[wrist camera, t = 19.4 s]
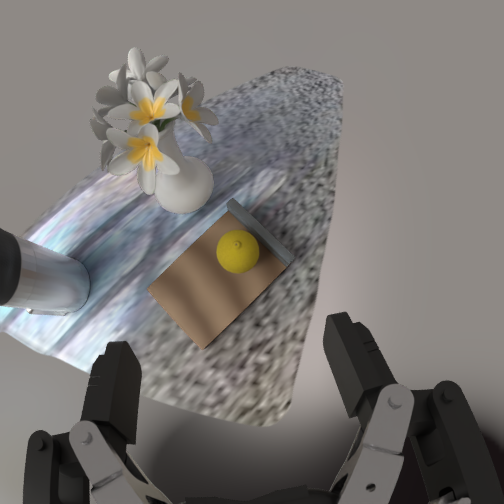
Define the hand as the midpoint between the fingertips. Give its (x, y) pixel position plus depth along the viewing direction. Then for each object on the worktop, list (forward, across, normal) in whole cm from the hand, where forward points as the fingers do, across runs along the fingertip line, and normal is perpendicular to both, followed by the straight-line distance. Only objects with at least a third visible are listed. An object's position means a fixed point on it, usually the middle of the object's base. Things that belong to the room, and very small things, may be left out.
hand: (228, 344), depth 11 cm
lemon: (+27, +2, -14) cm, 31 cm away
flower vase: (+37, -6, -7) cm, 38 cm away
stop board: (+26, -2, -17) cm, 32 cm away
